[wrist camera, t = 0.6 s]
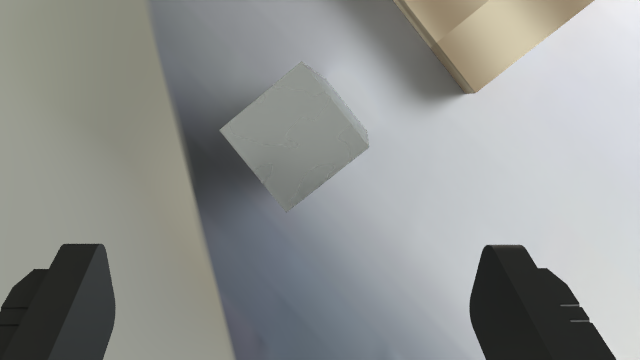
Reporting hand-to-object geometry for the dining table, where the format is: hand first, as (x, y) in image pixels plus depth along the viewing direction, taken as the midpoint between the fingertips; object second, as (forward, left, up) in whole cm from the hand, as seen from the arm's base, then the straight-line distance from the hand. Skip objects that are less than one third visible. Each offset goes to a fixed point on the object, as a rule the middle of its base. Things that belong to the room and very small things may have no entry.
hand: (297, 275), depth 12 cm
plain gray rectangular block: (-1, -3, -23) cm, 23 cm away
